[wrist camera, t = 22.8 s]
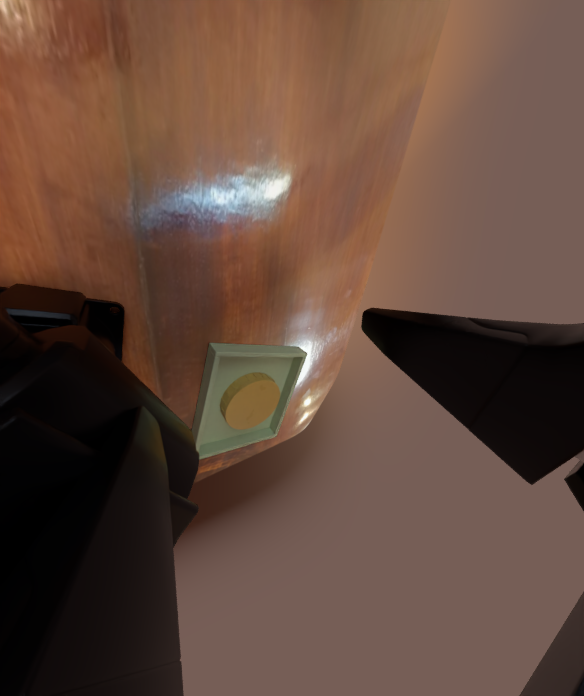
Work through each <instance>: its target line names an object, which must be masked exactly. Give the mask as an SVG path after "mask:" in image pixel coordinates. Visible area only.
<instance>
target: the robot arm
mask: <svg viewBox="0 0 584 696" xmlns="http://www.w3.org/2000/svg"><path fill="white" fill-rule="evenodd" d="M112 307H116V308H118V309H119V312H116V313H114V312H112V311H111V310H110V308H112ZM361 327H362V330H363V332H364V333H365V334H366V335H367V336H368V337H369V338H370V340H371V341H372V342H373V343H374V344H375V345H376V346H377V347H378V348H379V349H380V350H381V352H382V353H383V354H385V356H387V357H388V358H389V359H390V360H391V361H392V362H393V363H394V364H396V365H397V366H398V367H399V368H400V369H401V370H402V371H404V372H405V373H406V374H407V375H408V376H409V377H410V378H411V379H412V380H413V381H415V382H416V383H417V384H418V385H419V386H420V387H421V388H422V389H424V390H425V391H426V392H427V393H428V394H429V395H430V396H431V397H433V398H434V399H435V400H436V401H437V402H438V403H439V404H441V405H442V406H443V407H444V408H445V409H446V410H447V411H448V412H450V414H452V415H453V416H454V417H455V418H456V419H457V420H458V421H459V422H461V423H462V424H463V425H464V426H465V427H466V428H467V429H469V431H470V432H472V433H473V434H474V435H475V436H476V437H477V438H478V439H479V440H481V441H482V442H483V443H484V444H485V445H486V446H487V447H489V448H490V449H491V450H492V451H493V452H494V453H495V454H496V455H497V456H498V457H500V458H501V459H502V460H503V461H504V462H505V463H506V464H508V465H509V466H510V467H511V468H512V469H513V470H514V471H515V472H517V473H518V474H519V475H520V476H521V477H522V478H523V479H525V480H526V481H527V482H528V483H530V484H531V485H533V484H534V483H536V482H537V481H539V480H540V479H542V478H543V477H544V476H546V475H547V474H549V473H550V472H552V471H553V470H555V469H556V468H558V467H559V466H561V465H562V464H564V463H565V462H567V461H568V460H570V459H571V458H573V457H576V458H578V459H579V460H580V461H579V462H578V463H577V465H576V466H575V467H574V468H573V469H572V470H571V472H570V473H569V474H568V475H567V476H566V478H565V479H564V480H565V481H566V483H567V485H568V486H569V488H570V490H571V491H572V493H573V495H574V496H575V498H576V500H577V501H578V503H579V504H580V506H581V507H582V509H583V511H584V323H581V324H546V323H529V322H514V321H500V320H489V319H478V318H466V317H458V316H448V315H439V314H438V315H437V314H429V313H419V312H409V311H399V310H389V309H379V308H370V309H367V310H366V311H364V312H363V316H362V326H361ZM123 328H124V307H123V306H122V305H121V304H120V303H118V302H113V301H105V300H97V299H90V298H86V296H84V295H83V294H82V293H80V292H73V291H66V290H59V289H52V288H45V287H38V286H31V285H24V284H15V285H13V286H11V287H9V288H6V287H0V696H184V695H183V680H182V666H181V661H180V658H181V654H180V640H179V625H178V611H177V597H176V581H175V567H174V553H173V548H174V546H175V544H176V542H177V540H178V538H179V537H180V535H181V534H182V533H183V531H184V530H185V529H186V527H187V526H188V525H189V523H190V522H191V521H192V519H193V518H194V517H195V515H196V514H197V512H198V505H197V504H195V503H193V502H191V501H189V500H187V498H188V496H189V494H190V491H191V488H192V485H193V482H194V479H195V476H196V474H197V471H198V464H199V456H200V455H199V452H198V451H197V450H196V444H195V440H194V437H193V433H192V431H191V430H190V429H189V428H188V427H187V426H186V425H185V424H184V422H183V421H182V420H180V419H179V418H178V417H177V416H176V415H175V414H174V413H173V412H172V411H171V410H170V409H169V408H168V407H167V406H166V405H165V404H164V403H163V402H162V401H161V400H160V399H159V398H158V397H157V396H156V395H155V394H154V393H153V392H152V391H151V390H150V389H149V388H148V387H147V386H146V385H145V384H144V383H143V382H142V381H140V380H139V379H138V378H137V377H136V376H135V375H134V374H133V373H132V372H131V371H130V370H129V369H128V368H127V367H126V366H125V365H124V364H123V363H122V345H123ZM520 696H584V592H583V594H582V595H581V597H580V599H579V600H578V602H577V604H576V605H575V607H574V608H573V610H572V611H571V613H570V615H569V616H568V618H567V620H566V621H565V623H564V624H563V626H562V628H561V629H560V631H559V633H558V634H557V636H556V637H555V639H554V641H553V642H552V644H551V646H550V647H549V649H548V650H547V652H546V654H545V655H544V657H543V658H542V660H541V662H540V663H539V665H538V666H537V668H536V670H535V671H534V673H533V675H532V676H531V678H530V679H529V681H528V683H527V684H526V686H525V688H524V689H523V691H522V692H521V694H520Z"/></svg>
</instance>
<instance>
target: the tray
mask: <svg viewBox="0 0 584 696" xmlns="http://www.w3.org/2000/svg"><path fill="white" fill-rule="evenodd" d="M306 356H307V353H306V352H304V351H303V350H302V349H300V348H299V347H292V346H269V345H247V344H225V343H209V348H208V352H207V357H206V362H205V367H204V372H203V377H202V382H201V387H200V392H199V397H198V402H197V407H196V412H195V416H194V421H193V426H192V433H193V437H194V440H195V444H196V450H197V451H198V452H199V455H200V456H199V460H200V459H203V458H206V457H210V456H213V455H216V454H220V453H223V452H226V451H230V450H233V449H237V448H240V447H243V446H247V445H250V444H253V443H257V442H260V441H263V440H267V439H270V438H274V437H276V436H277V434H278V431H279V428H280V426H281V423H282V420H283V418H284V415H285V412H286V410H287V407H288V404H289V401H290V399H291V396H292V393H293V391H294V388H295V385H296V383H297V380H298V377H299V375H300V372H301V369H302V366H303V364H304V361H305V358H306ZM252 372H253V373H255V372H260V373H264V374H265V373H266V374H267V375H268V376H270V377H271V378H272V379H273V380H274V381H275V383H276V384H277V386H278V387H279V390H280V399H279V402H278V405H277V407H276V408H275V410H274V411H273V413H272V414H271V415H270V416H269V417H268V418H267V419H266V420H264V421H263V422H262V423H260V424H258V425H256V426H254V427H252V428H249V429H243V430H239V429H234V428H232V427H230V426H229V425H228V423H227V422H226V421H225V419H224V417H223V415H222V413H221V411H220V410H221V409H220V403H221V397H222V396H223V394H224V392H225V390H226V389H227V388H228V387H229V386H230V384H232V383H233V382H234V381H235V380H237V379H238V378H240V377H242V376H244V375H245V374H249V373H252Z"/></svg>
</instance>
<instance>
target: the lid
mask: <svg viewBox="0 0 584 696" xmlns="http://www.w3.org/2000/svg"><path fill="white" fill-rule="evenodd" d="M279 399H280V390H279V387H278V386H277V384H276V383H275V381H274V380H273V379H272V378H271V377H270V376H268V375H267V374H266V373H265V374H264V373H260V372H255V373H253V372H252V373H249V374H245V375H244V376H242V377H240V378H238V379H237V380H235V381H234V382H233V383H232V384H230V386H229V387H228V388H227V389H226V390H225V392H224V394H223V396H222V397H221V403H220V409H221V410H220V411H221V413H222V415H223V417H224V419H225V421H226V422H227V423H228V425H229V426H230V427H232V428H234V429H239V430H243V429H249V428H252V427H254V426H256V425H258V424H260V423H262V422H263V421H264V420H266V419H267V418H268V417H269V416H270V415H271V414H272V413H273V411H274V410H275V408H276V407H277V405H278V402H279Z"/></svg>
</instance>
